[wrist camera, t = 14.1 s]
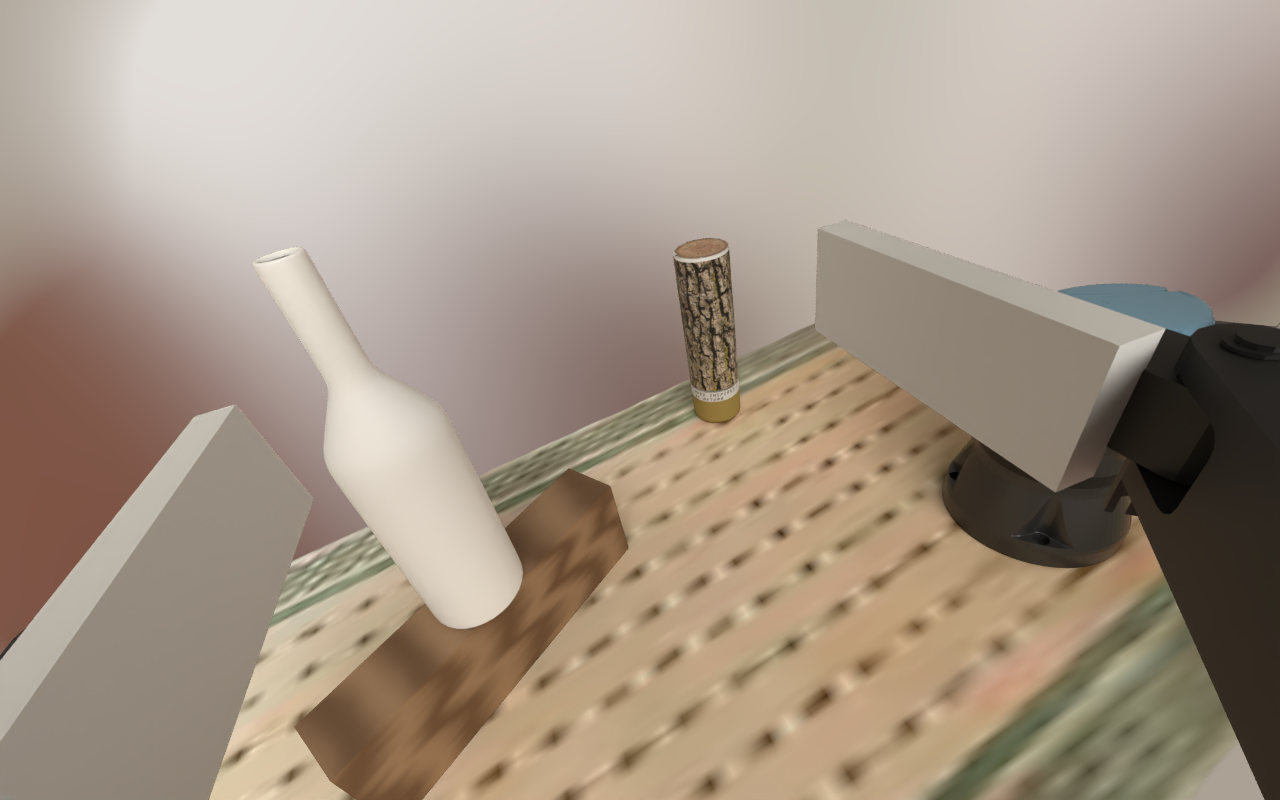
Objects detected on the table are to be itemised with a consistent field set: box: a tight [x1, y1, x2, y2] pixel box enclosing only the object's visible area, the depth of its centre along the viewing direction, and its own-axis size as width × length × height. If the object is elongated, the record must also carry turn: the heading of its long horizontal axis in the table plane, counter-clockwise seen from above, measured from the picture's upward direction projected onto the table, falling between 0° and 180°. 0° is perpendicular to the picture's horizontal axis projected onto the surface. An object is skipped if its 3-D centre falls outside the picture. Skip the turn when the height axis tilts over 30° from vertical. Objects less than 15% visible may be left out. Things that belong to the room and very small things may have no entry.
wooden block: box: [295, 469, 628, 800], centre depth 46 cm, size 30×6×10 cm, turn 144°
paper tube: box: [673, 238, 740, 423], centre depth 67 cm, size 7×7×25 cm
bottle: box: [253, 247, 523, 629], centre depth 35 cm, size 8×8×30 cm
